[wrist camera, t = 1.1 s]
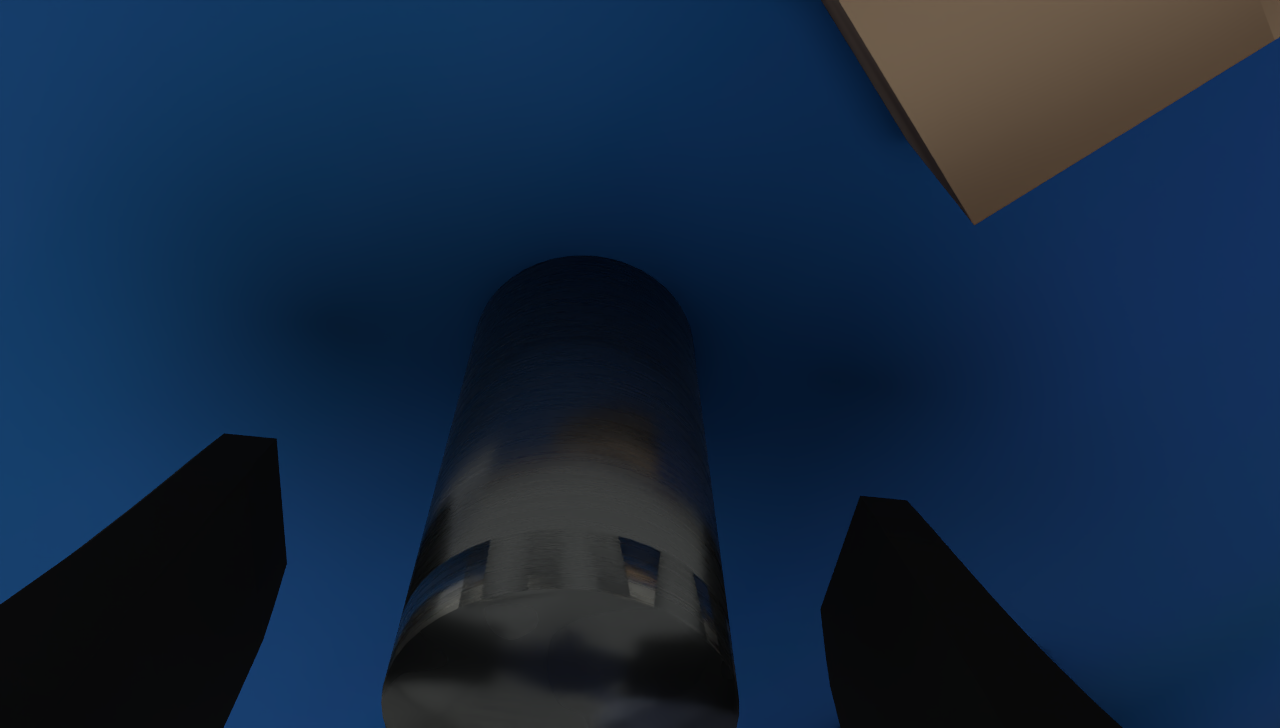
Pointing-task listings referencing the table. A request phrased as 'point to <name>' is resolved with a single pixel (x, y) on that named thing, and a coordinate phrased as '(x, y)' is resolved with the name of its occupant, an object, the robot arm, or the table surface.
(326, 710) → the table surface
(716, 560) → the pin
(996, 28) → the block
